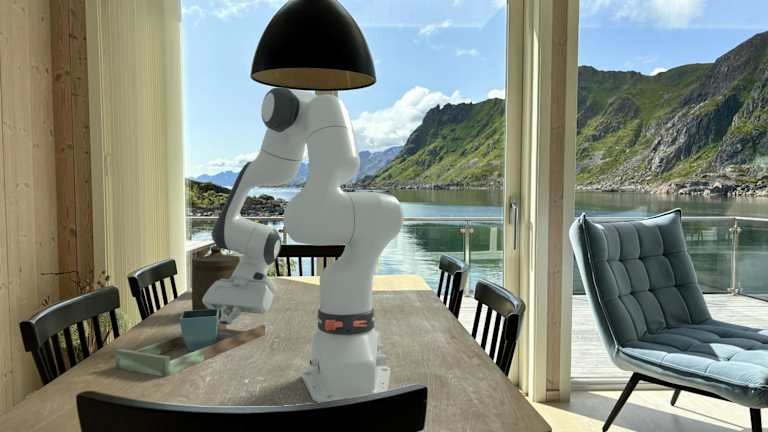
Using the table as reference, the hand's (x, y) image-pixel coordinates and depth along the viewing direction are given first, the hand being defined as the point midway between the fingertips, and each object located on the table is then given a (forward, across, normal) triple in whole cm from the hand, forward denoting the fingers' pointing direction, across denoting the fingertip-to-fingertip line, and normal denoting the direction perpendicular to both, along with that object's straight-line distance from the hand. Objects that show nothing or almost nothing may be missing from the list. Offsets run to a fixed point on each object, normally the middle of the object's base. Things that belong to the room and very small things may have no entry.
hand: (224, 323), depth 140 cm
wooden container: (-13, -22, +19) cm, 31 cm away
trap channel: (+9, 0, -3) cm, 10 cm away
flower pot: (+10, 0, -3) cm, 10 cm away
